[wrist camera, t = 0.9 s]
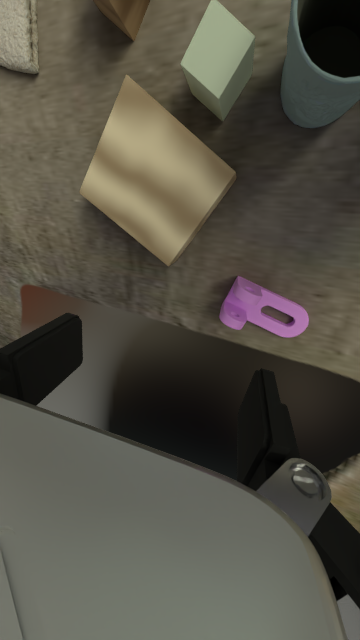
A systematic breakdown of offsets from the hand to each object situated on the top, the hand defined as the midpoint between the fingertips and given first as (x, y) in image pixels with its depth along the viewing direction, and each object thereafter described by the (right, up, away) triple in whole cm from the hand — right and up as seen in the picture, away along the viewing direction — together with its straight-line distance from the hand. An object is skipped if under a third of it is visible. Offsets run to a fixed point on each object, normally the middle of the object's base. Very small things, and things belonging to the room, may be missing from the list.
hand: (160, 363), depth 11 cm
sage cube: (+6, +30, +15) cm, 34 cm away
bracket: (+15, +4, +25) cm, 29 cm away
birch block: (-2, +22, +21) cm, 30 cm away
